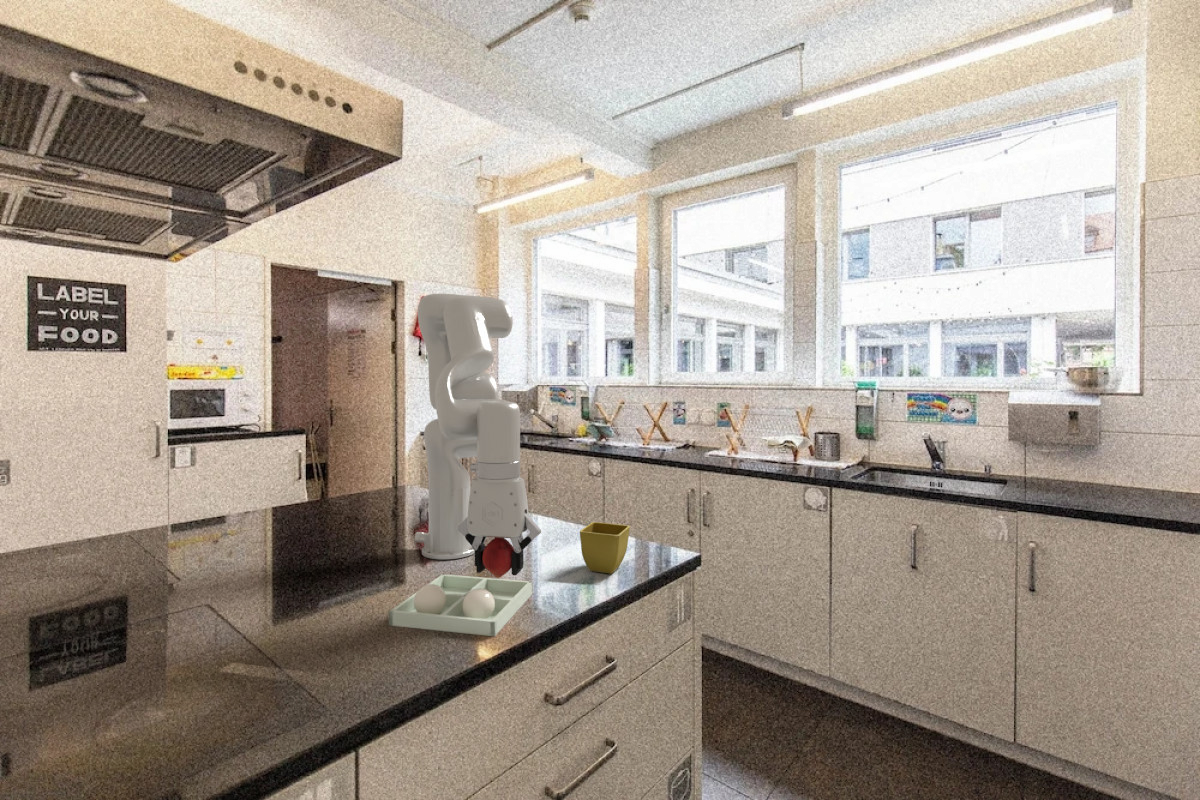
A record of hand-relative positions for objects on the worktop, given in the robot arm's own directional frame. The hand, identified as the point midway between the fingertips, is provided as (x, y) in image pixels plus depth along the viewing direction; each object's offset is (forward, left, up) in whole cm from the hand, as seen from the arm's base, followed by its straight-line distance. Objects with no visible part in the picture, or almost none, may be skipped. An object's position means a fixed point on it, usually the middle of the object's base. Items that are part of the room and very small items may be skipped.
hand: (499, 570), depth 101 cm
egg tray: (-4, -4, -6) cm, 9 cm away
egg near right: (0, -9, -5) cm, 10 cm away
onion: (0, 0, -1) cm, 1 cm away
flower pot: (+15, +24, -7) cm, 29 cm away
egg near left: (-9, -9, -5) cm, 13 cm away
